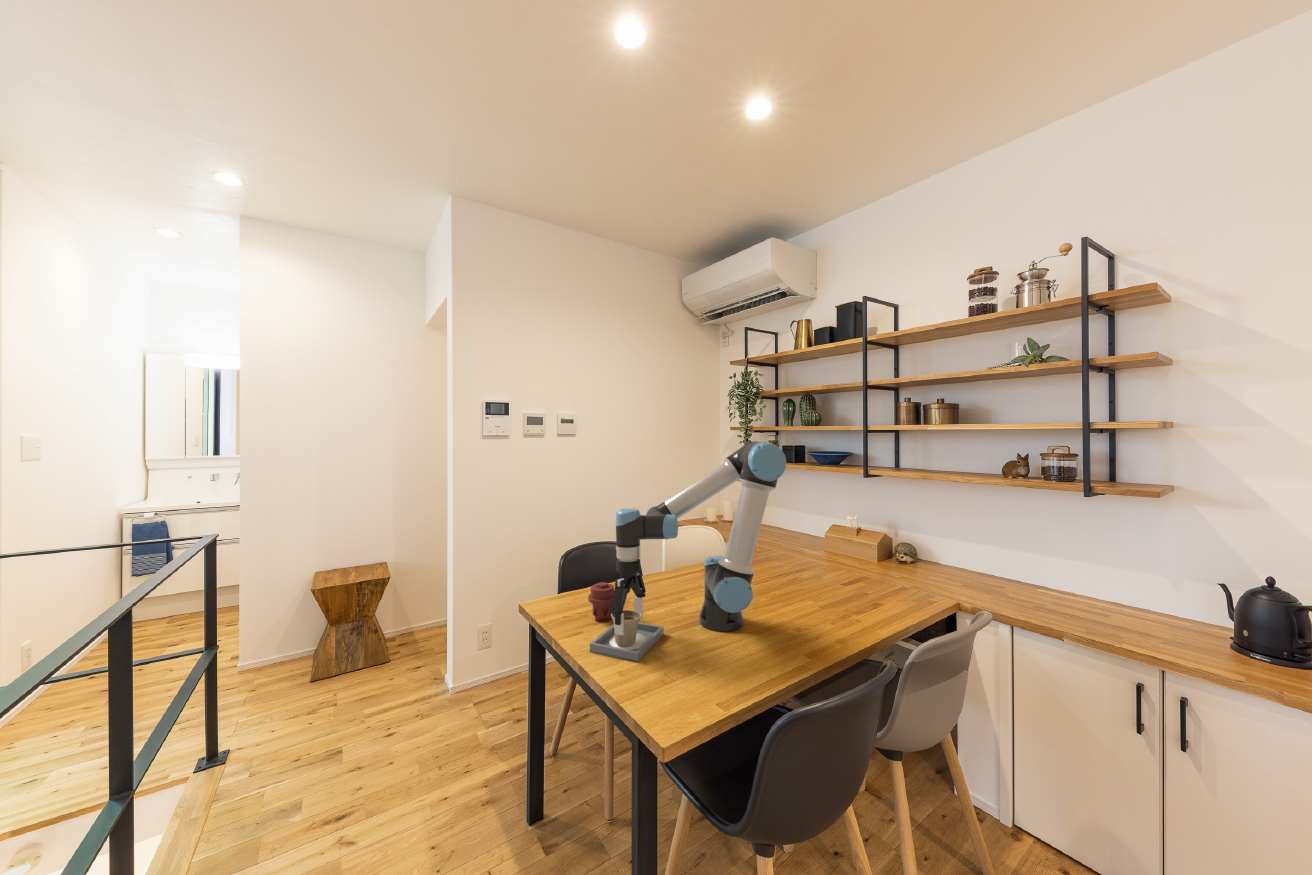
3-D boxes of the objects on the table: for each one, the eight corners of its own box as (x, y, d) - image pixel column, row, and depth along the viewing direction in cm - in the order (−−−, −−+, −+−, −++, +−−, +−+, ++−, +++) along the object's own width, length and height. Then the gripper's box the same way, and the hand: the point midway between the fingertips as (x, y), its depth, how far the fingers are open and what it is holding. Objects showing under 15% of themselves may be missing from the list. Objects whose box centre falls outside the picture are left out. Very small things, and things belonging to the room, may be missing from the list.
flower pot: (625, 634, 151) (626, 607, 151) (646, 643, 144) (647, 615, 145) (603, 642, 144) (604, 614, 144) (624, 651, 138) (625, 622, 138)
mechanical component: (592, 612, 171) (618, 613, 170) (585, 623, 161) (613, 624, 160) (592, 578, 170) (618, 579, 169) (585, 588, 160) (613, 589, 160)
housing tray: (663, 634, 152) (663, 626, 152) (637, 662, 134) (637, 653, 134) (620, 626, 158) (620, 618, 158) (589, 651, 140) (589, 643, 140)
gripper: (634, 547, 159) (635, 609, 159) (598, 568, 136) (599, 640, 136) (654, 549, 156) (655, 612, 156) (620, 571, 133) (621, 644, 133)
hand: (629, 625), depth 146 cm, fingers open, 13 cm apart
